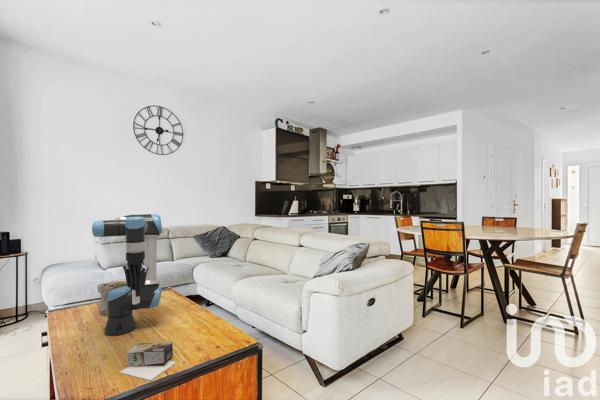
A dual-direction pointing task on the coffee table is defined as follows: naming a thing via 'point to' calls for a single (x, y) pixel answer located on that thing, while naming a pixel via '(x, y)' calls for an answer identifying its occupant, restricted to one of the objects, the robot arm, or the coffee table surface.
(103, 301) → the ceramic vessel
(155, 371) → the mat
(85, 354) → the coffee table surface
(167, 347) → the coffee box
